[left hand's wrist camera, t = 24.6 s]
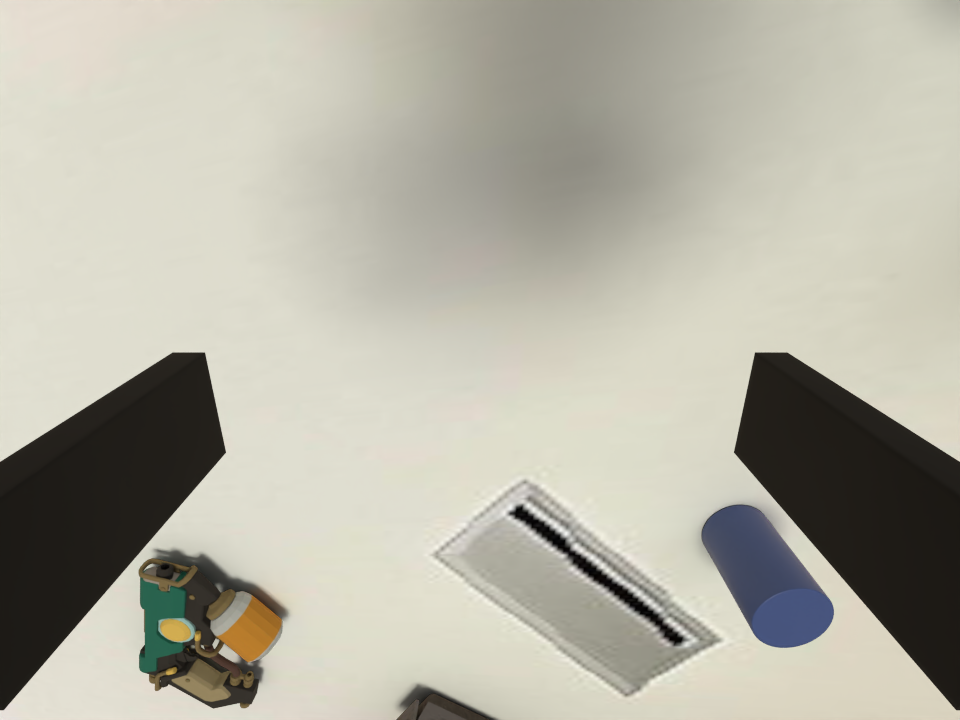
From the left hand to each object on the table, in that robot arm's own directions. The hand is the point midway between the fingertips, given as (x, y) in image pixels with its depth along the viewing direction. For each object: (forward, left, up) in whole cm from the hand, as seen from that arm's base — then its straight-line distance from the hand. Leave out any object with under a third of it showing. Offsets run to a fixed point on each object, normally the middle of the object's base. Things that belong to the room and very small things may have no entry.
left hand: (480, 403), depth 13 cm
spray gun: (+45, +6, -26) cm, 52 cm away
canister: (+3, +34, -26) cm, 42 cm away
